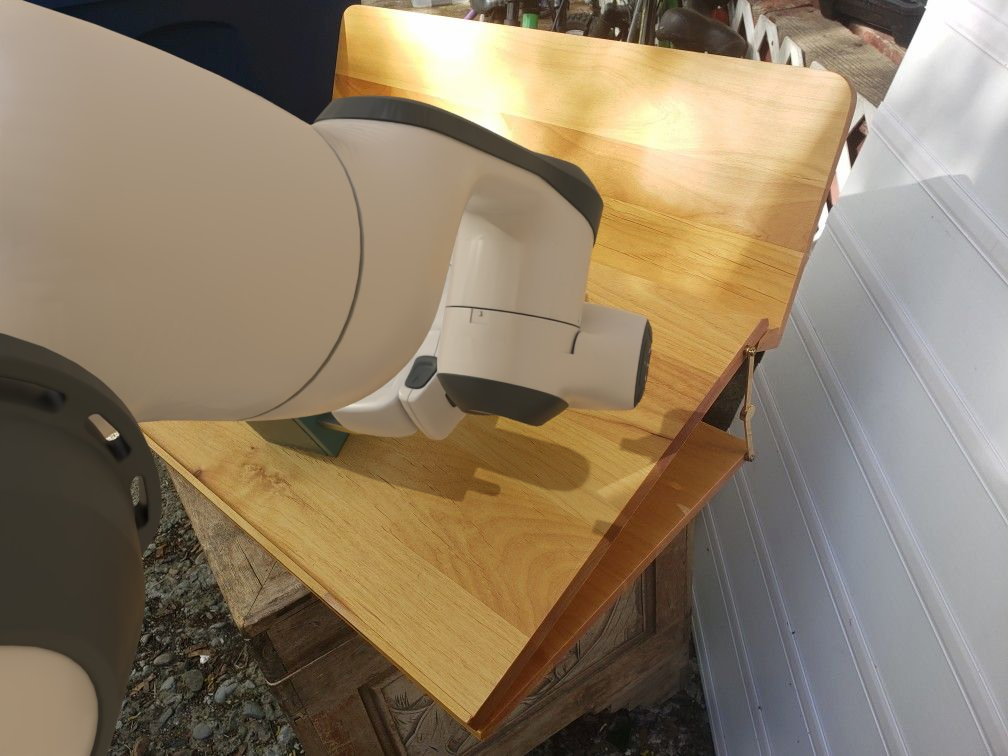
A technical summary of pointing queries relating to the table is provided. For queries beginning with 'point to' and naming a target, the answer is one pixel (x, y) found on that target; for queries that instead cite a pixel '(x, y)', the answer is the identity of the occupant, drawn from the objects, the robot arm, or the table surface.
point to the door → (325, 431)
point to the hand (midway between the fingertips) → (342, 323)
